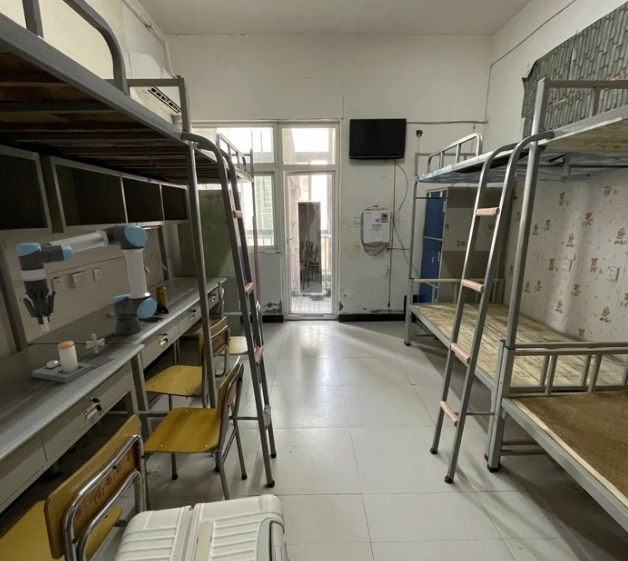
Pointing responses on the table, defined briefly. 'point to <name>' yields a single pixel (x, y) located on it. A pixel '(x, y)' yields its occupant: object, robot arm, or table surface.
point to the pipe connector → (95, 343)
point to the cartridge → (68, 357)
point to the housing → (61, 372)
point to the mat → (98, 361)
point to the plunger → (52, 364)
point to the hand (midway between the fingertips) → (45, 330)
